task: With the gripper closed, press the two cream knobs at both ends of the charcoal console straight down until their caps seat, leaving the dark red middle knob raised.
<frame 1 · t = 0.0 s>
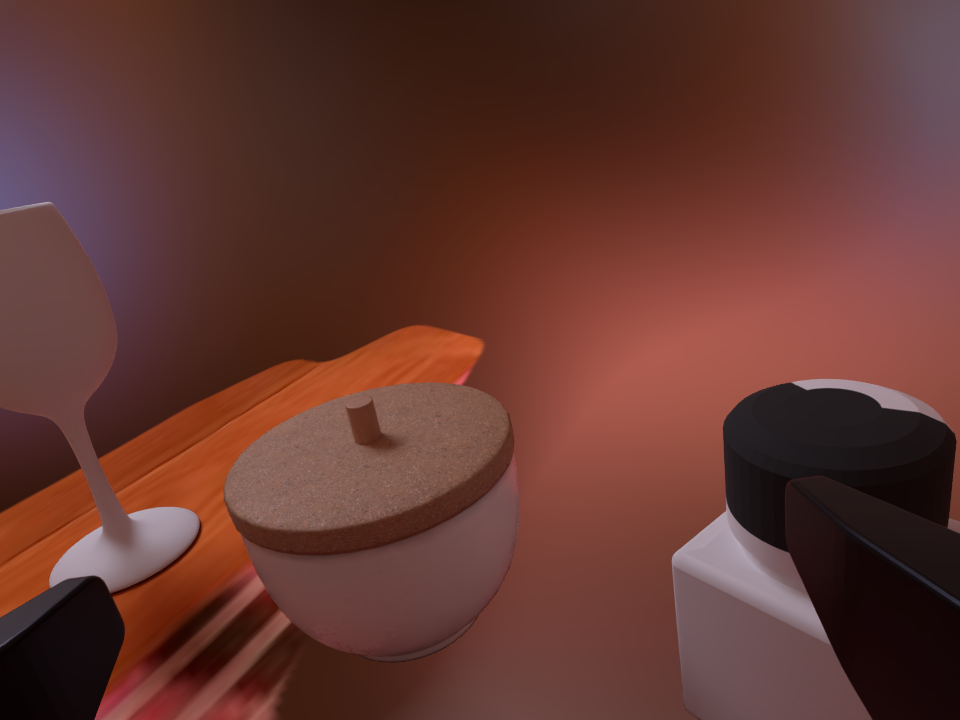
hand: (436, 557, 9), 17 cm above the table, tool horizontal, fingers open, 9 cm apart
wineglass: (129, 554, 41), on the table
lidded bowl: (413, 607, 32), on the table
medicine bottle: (825, 710, 24), on the table
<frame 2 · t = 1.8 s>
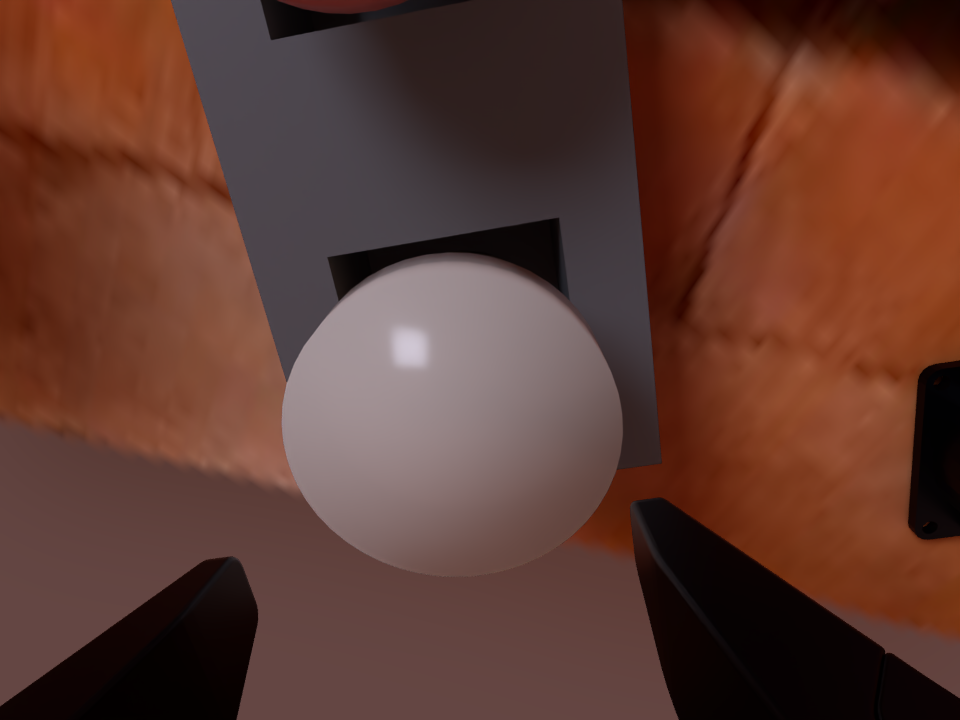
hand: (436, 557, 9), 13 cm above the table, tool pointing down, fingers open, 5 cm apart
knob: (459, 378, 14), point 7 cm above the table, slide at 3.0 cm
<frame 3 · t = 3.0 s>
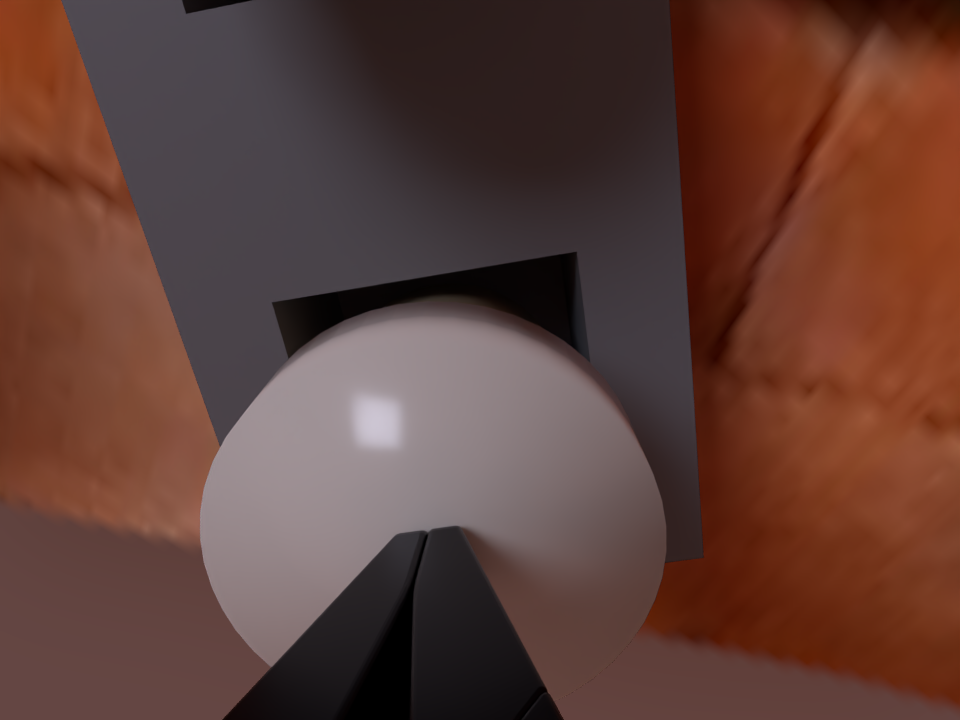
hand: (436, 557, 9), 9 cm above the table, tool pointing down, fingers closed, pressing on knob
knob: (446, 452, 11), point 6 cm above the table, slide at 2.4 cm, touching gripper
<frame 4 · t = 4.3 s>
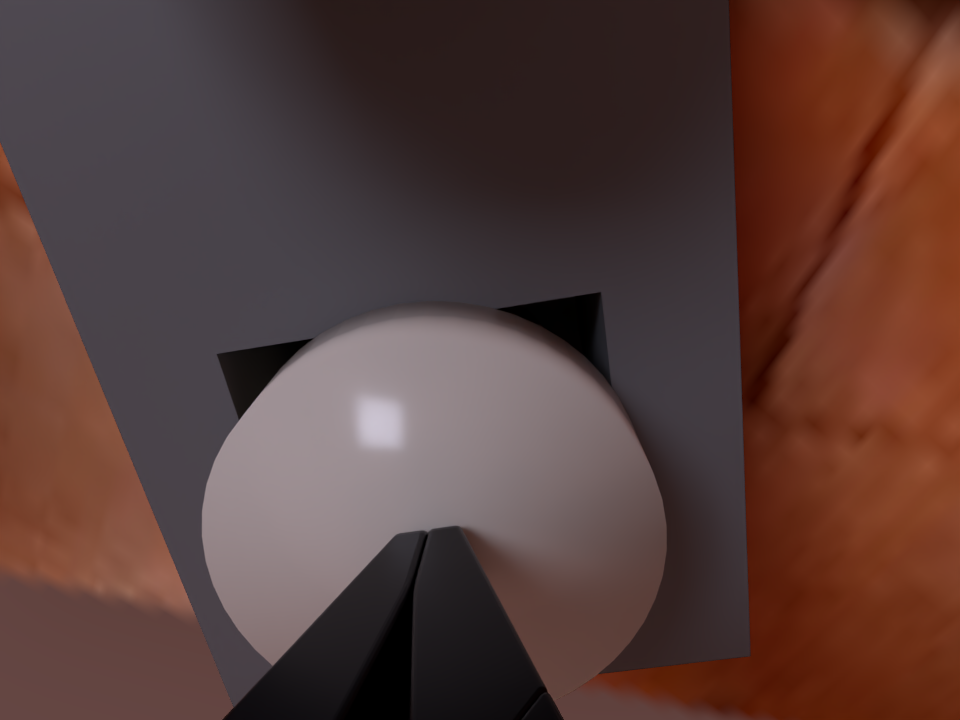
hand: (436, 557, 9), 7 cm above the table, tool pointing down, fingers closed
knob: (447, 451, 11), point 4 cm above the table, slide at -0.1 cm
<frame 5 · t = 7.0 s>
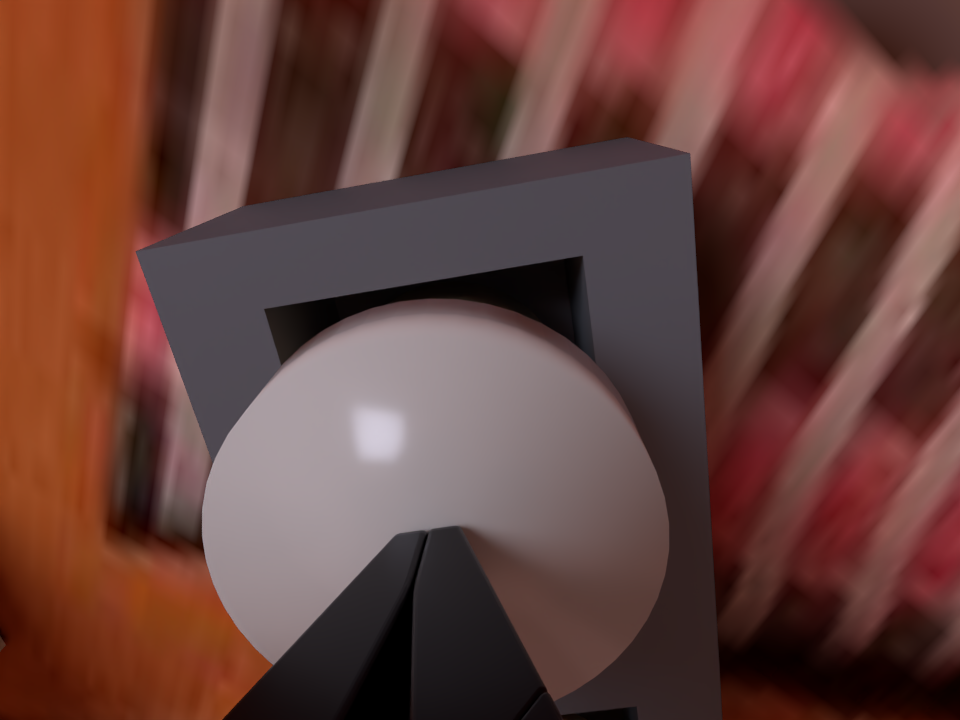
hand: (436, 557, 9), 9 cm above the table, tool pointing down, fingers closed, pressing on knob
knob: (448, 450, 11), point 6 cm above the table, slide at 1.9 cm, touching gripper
console: (521, 641, 20), on the table
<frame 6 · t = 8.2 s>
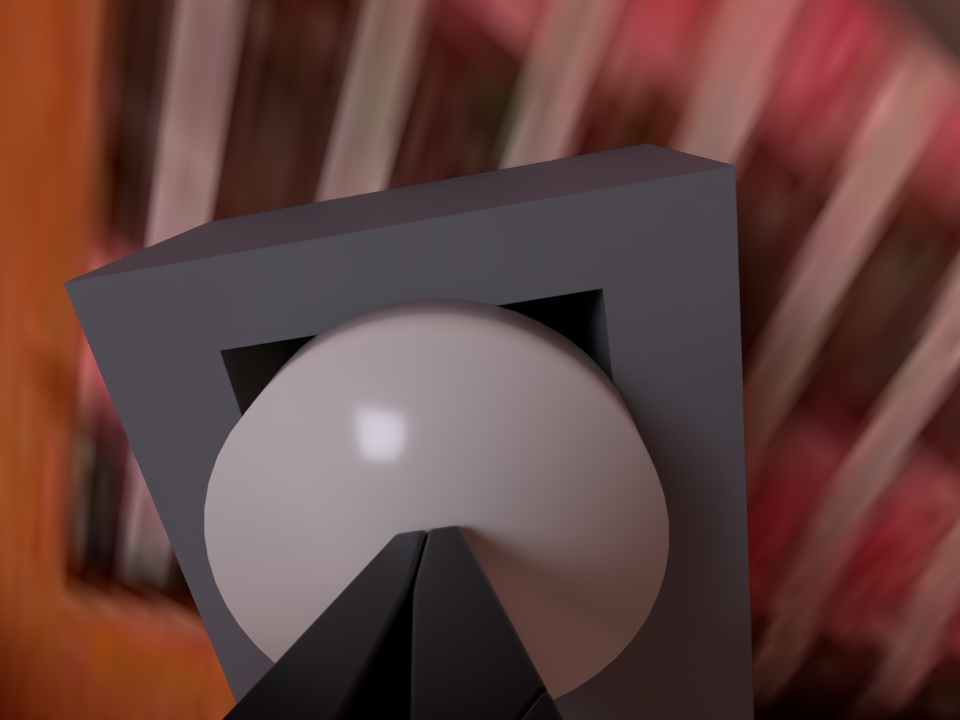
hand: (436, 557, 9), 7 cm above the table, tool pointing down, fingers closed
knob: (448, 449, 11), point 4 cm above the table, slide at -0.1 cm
console: (525, 697, 18), on the table
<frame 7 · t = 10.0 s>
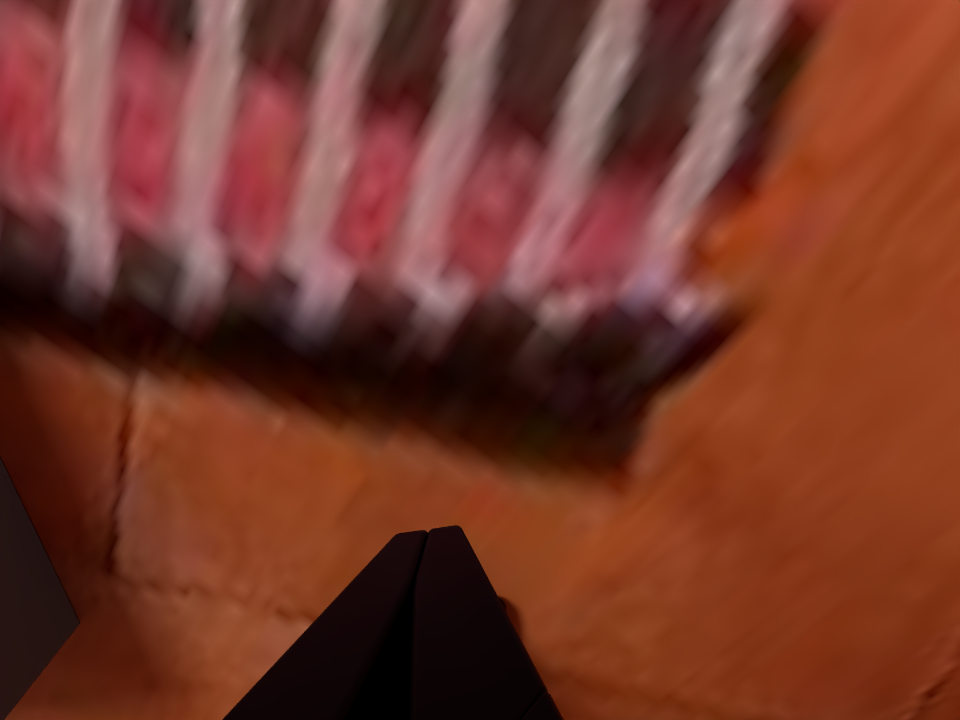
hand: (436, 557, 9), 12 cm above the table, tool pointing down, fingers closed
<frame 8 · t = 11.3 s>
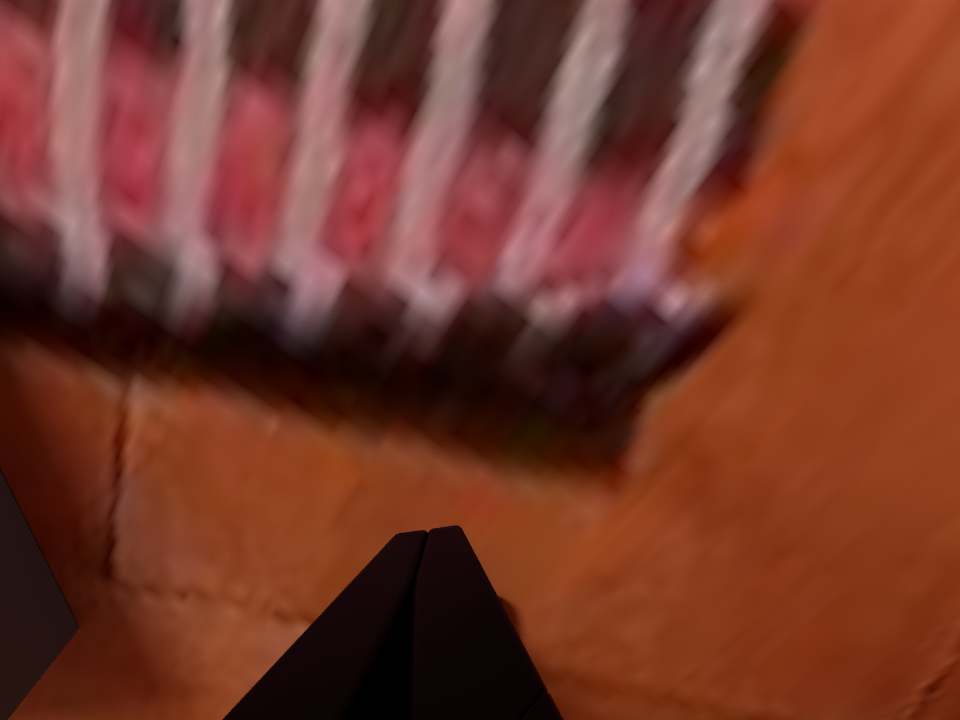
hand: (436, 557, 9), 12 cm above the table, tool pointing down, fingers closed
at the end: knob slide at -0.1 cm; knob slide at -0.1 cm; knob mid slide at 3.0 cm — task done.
